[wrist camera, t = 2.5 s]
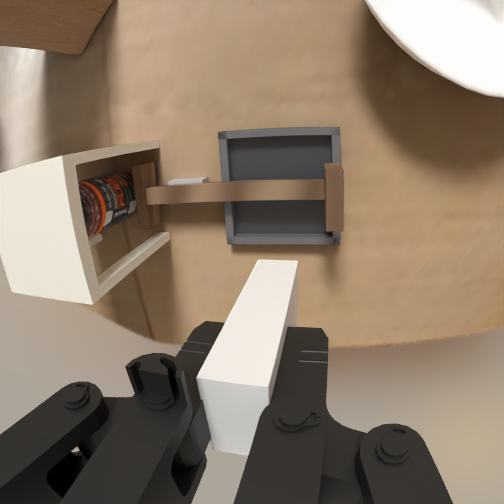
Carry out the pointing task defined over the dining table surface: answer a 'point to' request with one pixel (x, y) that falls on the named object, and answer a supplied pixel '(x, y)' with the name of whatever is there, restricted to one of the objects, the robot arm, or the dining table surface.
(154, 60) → the dining table surface
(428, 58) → the bowl
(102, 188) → the supplement bottle
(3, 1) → the wooden block
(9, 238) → the tunnel
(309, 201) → the grey shallow square tray
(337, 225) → the wooden dumbbell-shaped bar
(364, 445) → the robot arm
